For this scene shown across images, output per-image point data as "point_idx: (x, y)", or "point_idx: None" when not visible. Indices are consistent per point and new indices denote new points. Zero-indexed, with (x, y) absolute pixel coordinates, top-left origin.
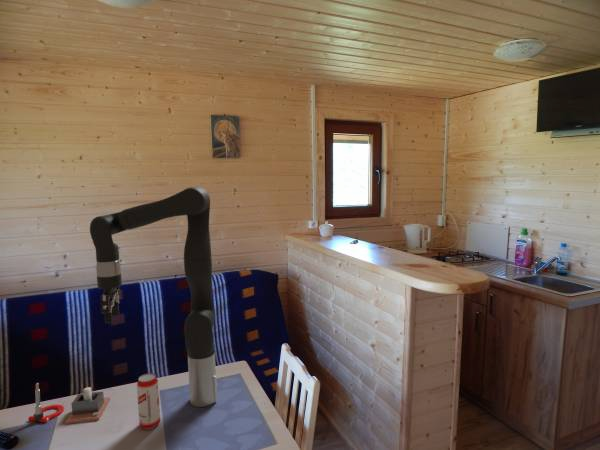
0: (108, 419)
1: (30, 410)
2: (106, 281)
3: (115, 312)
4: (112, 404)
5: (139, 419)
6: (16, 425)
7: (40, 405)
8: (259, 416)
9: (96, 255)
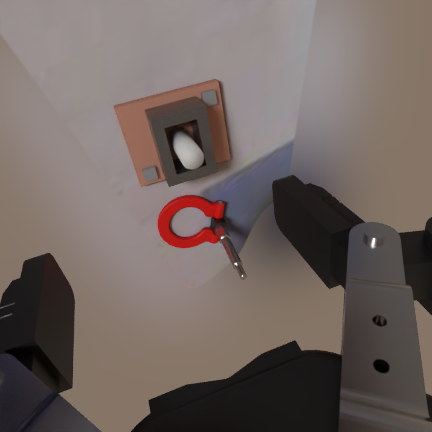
0: (213, 51)
1: (176, 264)
2: None
3: (59, 289)
4: (137, 82)
5: None
6: None
7: (223, 236)
8: None
9: None
